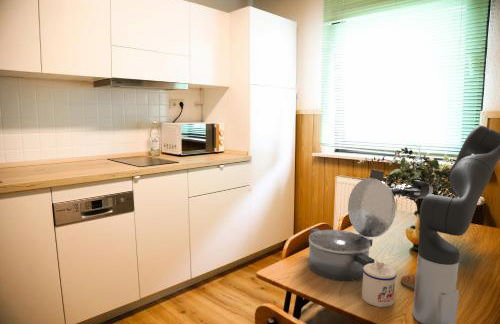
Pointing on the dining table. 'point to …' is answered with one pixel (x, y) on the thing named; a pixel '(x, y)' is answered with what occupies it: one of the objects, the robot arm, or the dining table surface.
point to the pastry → (409, 281)
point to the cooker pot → (338, 254)
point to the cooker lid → (372, 206)
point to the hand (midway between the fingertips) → (387, 192)
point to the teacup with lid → (378, 284)
